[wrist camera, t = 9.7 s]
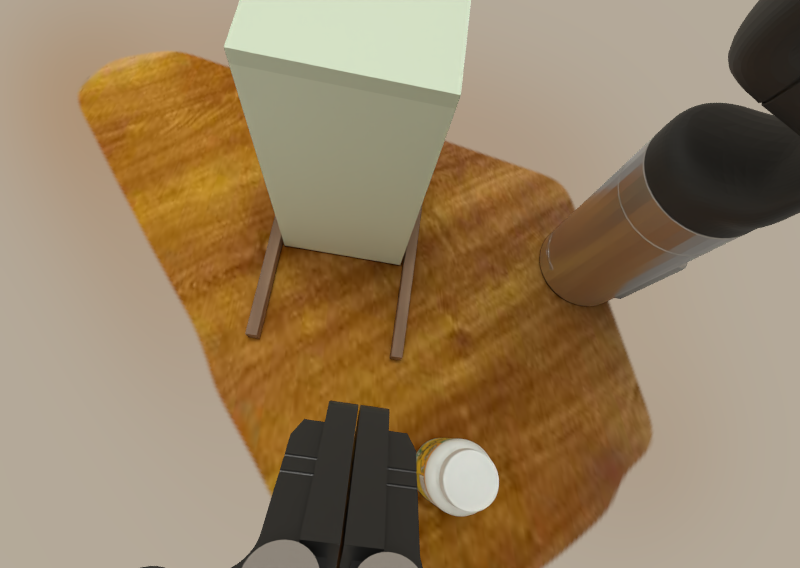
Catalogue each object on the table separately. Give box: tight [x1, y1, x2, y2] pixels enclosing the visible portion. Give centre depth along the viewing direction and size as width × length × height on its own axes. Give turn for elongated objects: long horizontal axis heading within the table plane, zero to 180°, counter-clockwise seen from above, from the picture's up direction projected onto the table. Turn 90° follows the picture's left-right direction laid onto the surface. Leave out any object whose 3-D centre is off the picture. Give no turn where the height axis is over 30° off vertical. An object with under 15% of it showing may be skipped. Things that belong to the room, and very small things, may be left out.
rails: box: [245, 202, 423, 360], centre depth 44 cm, size 14×21×2 cm
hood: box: [224, 0, 471, 265], centre depth 34 cm, size 12×10×24 cm
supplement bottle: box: [416, 438, 499, 516], centre depth 35 cm, size 5×5×10 cm
